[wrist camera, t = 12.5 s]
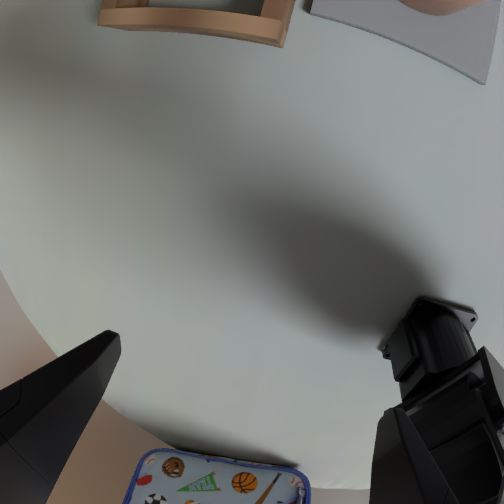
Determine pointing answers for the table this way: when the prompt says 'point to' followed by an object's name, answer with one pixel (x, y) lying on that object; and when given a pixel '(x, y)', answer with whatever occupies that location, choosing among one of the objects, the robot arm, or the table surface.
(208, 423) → the table surface
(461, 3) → the tan dome with tab
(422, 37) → the mat
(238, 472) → the lunch box
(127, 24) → the holder
